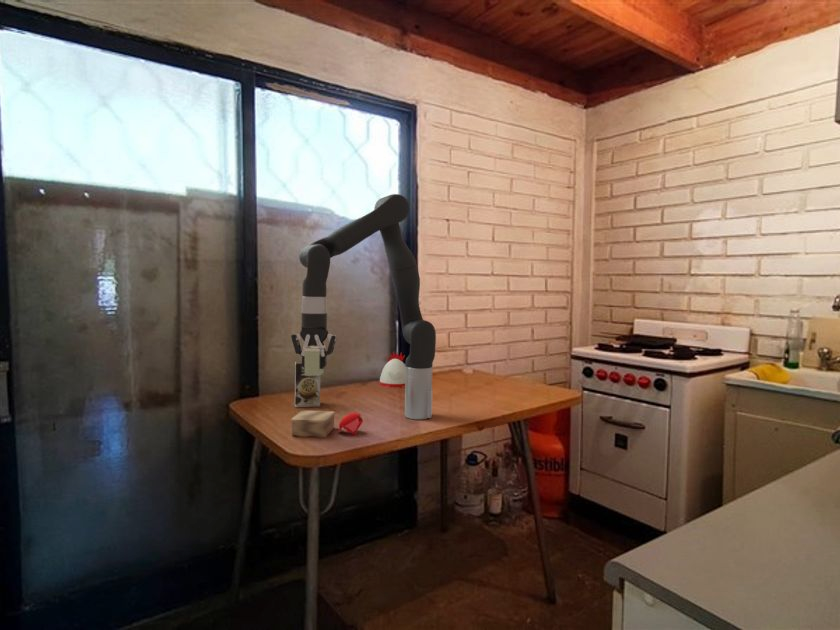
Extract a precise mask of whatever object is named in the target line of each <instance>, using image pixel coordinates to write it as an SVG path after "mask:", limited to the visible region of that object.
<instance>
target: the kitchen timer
mask: <svg viewBox="0 0 840 630" xmlns="http://www.w3.org/2000/svg"><path fill="white" fill-rule="evenodd" d="M392 353H393V354H391V353H390V354H389V357H390V358H389V357H388V356H386V359H387V362H386V364H385V365H384V366H383V368H382V370H381V374H380V377H379V386H381V385H382V386H381V387H383V386H388V387H387V388H391V387H400V388H403V387H402V386H405V366H406V363H404V361H403V360H404V358H405V357H406V356H405V354H404V355H402V354H403V353H402V351H401V352H400V354H398V352H396V354H395V351H393V352H392Z"/></svg>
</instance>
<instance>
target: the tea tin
mask: <svg viewBox="0 0 840 630" xmlns="http://www.w3.org/2000/svg"><path fill="white" fill-rule="evenodd" d="M304 351H305V375H311V376H320V377H321V376H322V375H323V374H324V369H325V368H324V369H321V368H320V363H321V354H320V351H321V349H320V348H318V346H314V345H311V346H310V347H308V348H304Z"/></svg>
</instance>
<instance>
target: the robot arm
mask: <svg viewBox="0 0 840 630" xmlns="http://www.w3.org/2000/svg"><path fill="white" fill-rule="evenodd" d="M410 209H411V207H410V202H409V201H408V199H407V198H406V197H405V196H404V195H402V194H399V193H392V194H389V195H386V196H384V197H382V198H379V199H378V200H377V201H376V202H375V205H374V210H372V211H371V212H369V213H367V214H365V215H363V216H361V217H359V218H356V219H354V220H352V221H350V222H348V223H346V224H344V225H342V226H340V227H339V228H337V229H336V230H333V231H332V232H331V233H329V234H328V235H326V236H324V237H322V238H319V239H317V240H315V241H313V242H311V243H309V244H307V245H306V246H305V247H303V248H302V249H301V251H300V252H299V259H298V260H299V261H300V264H301V265H302V266H303V267H305V268H307V271H306V276H305V277H304V278H303V280H302V285H301V286H302V289H301V290H302V294H301V295H302V298H301V299H302V300H301V308H300V311H301V317H300V319H301V321H300V322H301V329H300V331H299V333H292V335H291V334H290V335H291V336H290V337H291V341H292V344H293V345H292V346H293V348H294V352H295V354H297V355H300V356H301V361H302V366H304V368H305V351H304V348H308V347H310V346H314V347H318V348H320V349H321V351H320V354H321V363H320V368H321V369H325V367H326V366H327V356H329V355H331V354H333V352H334V350H335V346H336V342H337V338H338V335H337V334H331V333H329V330H328V301H327V281H328V277H329V271H330V268H331V267H330V266H331V258H333V257H337V256H340V255H342V254H344V253H346V252H347V251H349V250H351V249H352V248H353V247H355V246H357V245H358V244H360V243H361V242H363V241H364V240H366V239H368V238H369V237H370V236H372V235H374V234H375V233H377V232H380V235H381V238H382V241H383V245H384V250H385V255H386V258H387V262H388V267H389V268H388V269H389V274H390V276H391V281H392V285H393V289H394V292H395V293H394V294H395V297H396V300H397V304H398V308H399V314H400V323H401V331H402V336H403V338H404V340H405V341H406V343H408V344H409V345H410V346H409V354H408V356H407V357H406V359H405V387H404V417H405V418H406V419H411V420H427V418H431V419H432V415H433V362H434V360H435V358H436V357H435V356H436V344H437V335H436V334H437V333H436V328H435V326H434V325H433V323H431V322H430V321H428V320H425V319H424V318H423V315H422V311H421V308H420V301H419V300H420V299H419V297H420V290H421V288H420V287H421V279H420V273H419V268H418V264H417V261H416V258H415V256H414V254H413V253H412V251H411V250H410V248H409V246H408V245H407V244H406V242H405V239H404V237H403V235H402V234H403V233H402V231H401V227H400V223H401V222H403V221H404V220H406V219H407V218H408V216H409V215H410ZM301 339H302V340H303V341H304V342H303V345H302V346H301V342H300V340H301ZM326 339H328V342H329V343H328V347H327V350H326V344H325V340H326Z"/></svg>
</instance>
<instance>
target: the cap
mask: <svg viewBox="0 0 840 630" xmlns="http://www.w3.org/2000/svg"><path fill="white" fill-rule="evenodd" d="M363 422H364V420H363V417H362V416H361V414H360V413H359V412H352V413H349V414H347V415H345V416H344V417H343V418H342V419H341V420H340V422H339V423H338V427H339V429H338V433H340V432H341V430H342V429H344V430H346V432H348V433H350V434H351V435H353V436H355V435H357V432H358V430H359V428H360V427H361V426H362V424H363Z"/></svg>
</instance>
